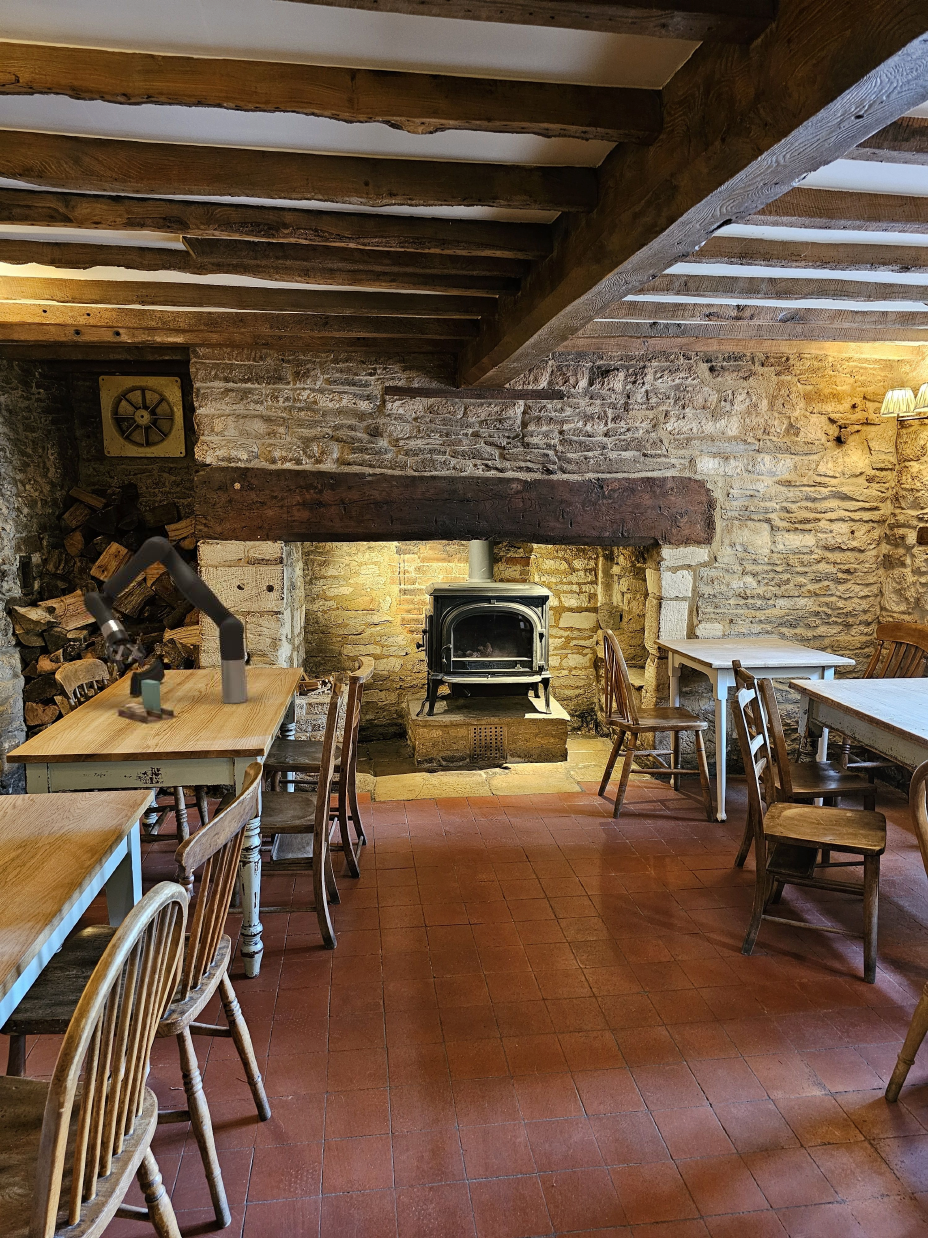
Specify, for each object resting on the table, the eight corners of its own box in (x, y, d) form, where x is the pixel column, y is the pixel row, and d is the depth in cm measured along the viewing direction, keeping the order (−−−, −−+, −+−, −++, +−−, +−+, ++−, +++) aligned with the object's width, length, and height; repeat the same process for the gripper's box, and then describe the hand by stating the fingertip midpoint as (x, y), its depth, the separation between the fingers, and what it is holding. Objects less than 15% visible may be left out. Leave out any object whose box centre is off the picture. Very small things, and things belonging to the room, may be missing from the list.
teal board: (142, 712, 299) (141, 681, 297) (150, 711, 301) (148, 679, 300) (153, 715, 295) (152, 683, 293) (161, 714, 297) (159, 682, 295)
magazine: (134, 677, 325) (160, 644, 352) (125, 677, 325) (152, 644, 352) (141, 714, 332) (166, 679, 360) (133, 714, 332) (158, 679, 360)
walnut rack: (116, 719, 295) (116, 708, 295) (149, 712, 305) (148, 702, 305) (147, 728, 283) (147, 717, 283) (180, 720, 294) (180, 710, 293)
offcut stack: (124, 716, 294) (123, 705, 293) (134, 714, 297) (134, 703, 296) (136, 719, 289) (136, 708, 288) (147, 717, 292) (146, 706, 291)
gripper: (100, 630, 300) (119, 664, 295) (136, 626, 311) (154, 659, 306) (94, 643, 304) (112, 677, 299) (129, 638, 315) (147, 671, 310)
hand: (133, 667), depth 302 cm, fingers open, 8 cm apart
